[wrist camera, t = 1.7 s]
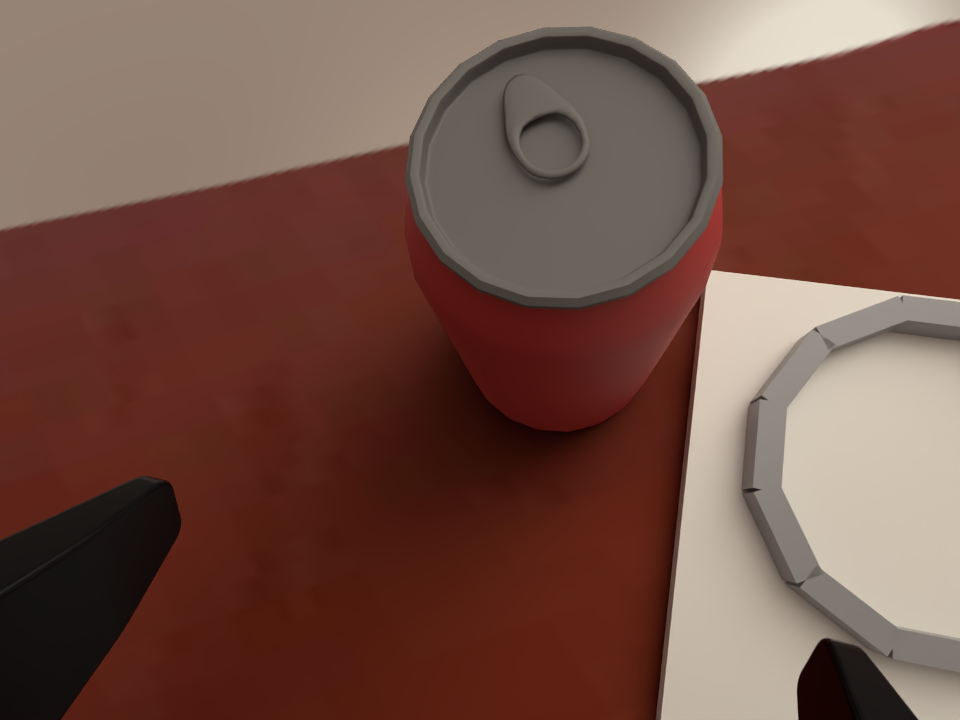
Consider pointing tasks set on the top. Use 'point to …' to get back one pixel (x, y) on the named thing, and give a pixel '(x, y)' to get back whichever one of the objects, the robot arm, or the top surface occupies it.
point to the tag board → (816, 498)
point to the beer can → (564, 217)
